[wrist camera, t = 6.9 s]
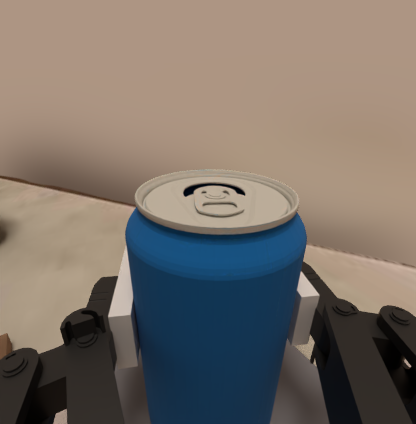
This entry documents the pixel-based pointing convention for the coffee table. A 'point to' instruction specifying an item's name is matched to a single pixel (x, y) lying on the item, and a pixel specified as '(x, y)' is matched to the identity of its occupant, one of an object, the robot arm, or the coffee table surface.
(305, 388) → the gray tile
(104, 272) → the coffee table surface
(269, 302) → the beverage can
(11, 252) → the coffee table surface
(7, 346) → the walnut board
